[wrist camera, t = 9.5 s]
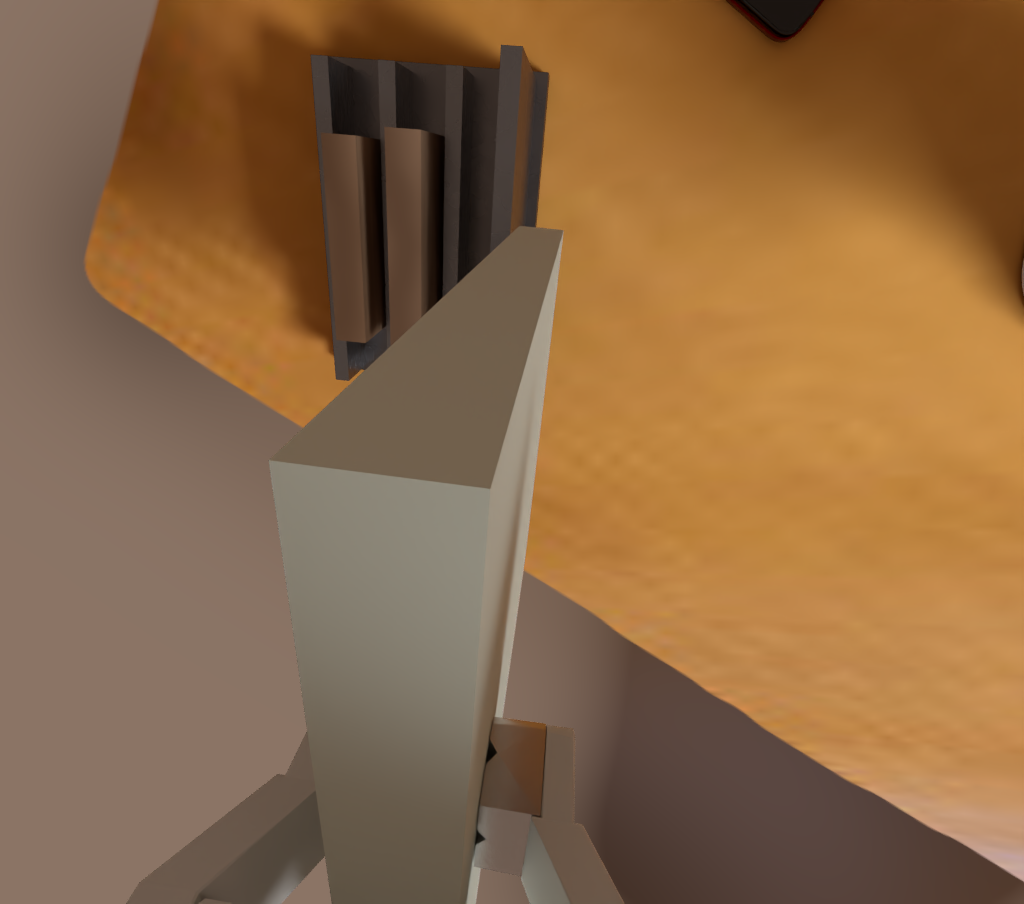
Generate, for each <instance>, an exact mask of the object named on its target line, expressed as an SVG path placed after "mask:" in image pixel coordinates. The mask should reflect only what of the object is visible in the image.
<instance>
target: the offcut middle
mask: <svg viewBox="0 0 1024 904" xmlns="http://www.w3.org/2000/svg"><path fill="white" fill-rule="evenodd" d="M384 131H385V166H386V201H387V235H388V270H389V305H390V340H391V345H393V344H394V343H395V342H396V341H397V340H398V339H399V338H400V337H401V336H402V335H403V334H404V333H405V332H406V331H408V330H409V329H410V328H411V327H412V326H413V325H414V324H415V323H416V322H417V321H418V320H419V319H420V318H421V317H422V316H424V315H425V314H426V313H427V312H428V311H429V310H430V309H431V308H432V307H433V306H434V305H435V304H436V303H437V302H439V301H440V300H441V299H442V298H443V235H444V170H445V136H442V135H438V134H435V133H431V132H427V131H424V130H418V129H406V128H393V127H384Z"/></svg>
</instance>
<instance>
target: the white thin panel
mask: <svg viewBox="0 0 1024 904" xmlns="http://www.w3.org/2000/svg"><path fill="white" fill-rule="evenodd" d="M563 231H564V230H556V229H546V228H536V227H526V226H519V227H518V228H517V229H516V230H514V231H513V232H512V233H511V234H510V235H509V236H508V237H507V238H506V239H505V240H504V241H503V242H502V243H501V244H499V245H498V246H497V247H496V248H495V249H494V250H493V251H492V252H491V253H490V254H489V255H488V256H487V257H486V258H485V259H483V260H482V261H481V262H480V263H479V264H478V265H477V266H476V267H475V268H474V269H473V270H472V271H471V272H470V273H468V274H467V275H466V276H465V277H464V278H463V279H462V280H461V281H460V282H459V283H458V284H457V285H456V286H455V287H453V288H452V289H451V290H450V291H449V292H448V293H447V294H446V295H445V296H444V297H443V298H442V299H441V300H440V301H439V302H437V303H436V304H435V305H434V306H433V307H432V308H431V309H430V310H429V311H428V312H427V313H426V314H425V315H424V316H422V317H421V318H420V319H419V320H418V321H417V322H416V323H415V324H414V325H413V326H412V327H411V328H410V329H409V330H408V331H406V332H405V333H404V334H403V335H402V336H401V337H400V338H399V339H398V340H397V341H396V342H395V343H394V344H393V345H391V346H390V347H389V348H388V349H387V350H386V351H385V352H384V353H383V354H382V355H381V356H380V357H379V358H378V359H376V360H375V361H374V362H373V363H372V364H371V365H370V366H369V367H368V368H367V369H366V370H365V371H364V372H363V373H362V374H360V375H359V376H358V377H357V378H356V379H355V380H354V381H353V382H352V383H351V384H350V385H349V386H348V387H347V388H345V389H344V390H343V391H342V392H341V393H340V394H339V395H338V396H337V397H336V398H335V399H334V400H333V401H332V402H330V403H329V404H328V405H327V406H326V407H325V408H324V409H323V410H322V411H321V412H320V413H319V414H318V415H317V416H316V417H314V418H313V419H312V420H311V421H310V422H309V423H308V424H307V425H306V426H305V427H304V428H303V429H302V430H301V431H300V432H298V433H297V434H296V435H295V436H294V437H293V438H292V439H291V440H290V441H289V442H288V443H287V444H286V445H285V446H283V447H282V448H281V449H280V450H279V451H278V452H277V453H276V454H275V455H274V456H273V457H272V458H271V459H270V460H269V466H270V473H271V480H272V487H273V494H274V501H275V508H276V515H277V522H278V529H279V536H280V543H281V550H282V557H283V564H284V571H285V578H286V585H287V592H288V599H289V606H290V613H291V621H292V628H293V634H294V641H295V649H296V656H297V662H298V669H299V677H300V684H301V691H302V697H303V705H304V712H305V718H306V725H307V733H308V740H309V747H310V754H311V761H312V768H313V775H314V782H315V789H316V796H317V803H318V810H319V817H320V824H321V831H322V838H323V845H324V852H325V859H326V866H327V873H328V880H329V887H330V894H331V901H332V904H476V897H477V891H478V883H479V877H480V869H481V868H478V867H474V857H475V844H476V838H477V831H478V830H477V823H478V814H479V805H480V798H481V792H482V785H483V779H484V772H485V766H486V764H487V760H488V751H489V742H490V735H491V729H492V723H493V718H494V717H500V718H502V717H503V710H504V703H505V696H506V689H507V682H508V675H509V667H510V661H511V653H512V647H513V640H514V633H515V626H516V619H517V612H518V605H519V598H520V591H521V584H522V577H523V570H524V563H525V555H526V547H527V538H528V530H529V521H530V513H531V504H532V496H533V487H534V479H535V470H536V462H537V453H538V445H539V436H540V428H541V419H542V411H543V402H544V393H545V385H546V376H547V368H548V359H549V351H550V342H551V334H552V325H553V317H554V308H555V300H556V291H557V283H558V274H559V266H560V257H561V249H562V240H563Z"/></svg>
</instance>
